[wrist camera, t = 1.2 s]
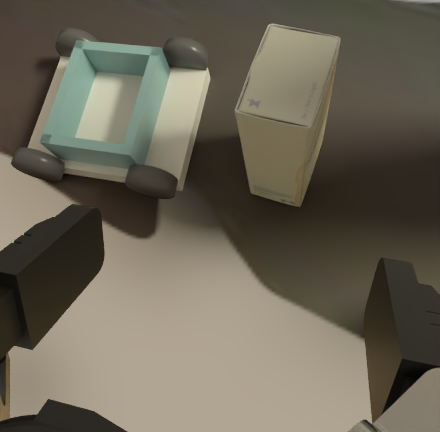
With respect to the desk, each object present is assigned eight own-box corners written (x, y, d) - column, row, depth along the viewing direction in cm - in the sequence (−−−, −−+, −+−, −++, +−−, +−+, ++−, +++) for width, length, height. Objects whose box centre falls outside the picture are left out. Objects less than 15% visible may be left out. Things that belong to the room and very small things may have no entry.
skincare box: (300, 209, 33) (312, 134, 21) (247, 193, 34) (231, 114, 22) (323, 140, 34) (345, 35, 23) (271, 126, 35) (268, 20, 24)
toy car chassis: (212, 69, 38) (204, 34, 34) (179, 201, 34) (165, 181, 30) (72, 56, 40) (48, 21, 36) (29, 177, 37) (-4, 155, 33)
